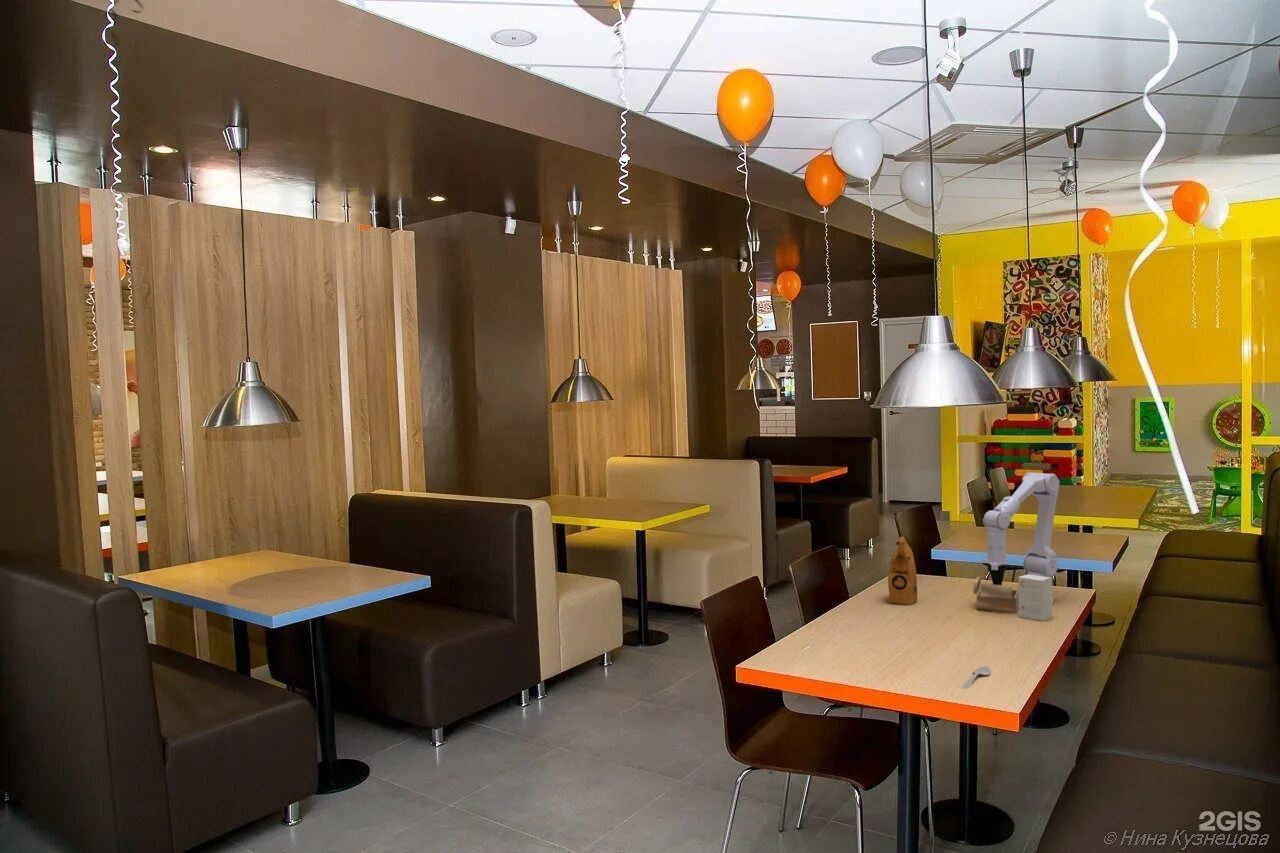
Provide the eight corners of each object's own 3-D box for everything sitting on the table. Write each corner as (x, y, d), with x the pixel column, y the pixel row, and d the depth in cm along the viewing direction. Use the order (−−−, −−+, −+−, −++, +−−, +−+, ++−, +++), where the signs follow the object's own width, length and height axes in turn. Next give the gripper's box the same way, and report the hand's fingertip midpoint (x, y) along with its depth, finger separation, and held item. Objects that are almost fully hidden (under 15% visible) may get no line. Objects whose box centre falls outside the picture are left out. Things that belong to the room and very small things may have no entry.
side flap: (981, 576, 299) (977, 576, 299) (977, 582, 291) (974, 582, 291) (980, 588, 299) (977, 587, 300) (976, 594, 291) (973, 593, 291)
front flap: (981, 583, 289) (980, 583, 288) (1012, 585, 284) (1012, 586, 283) (981, 595, 289) (980, 596, 288) (1012, 598, 284) (1012, 598, 283)
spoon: (994, 673, 227) (994, 667, 227) (967, 695, 211) (967, 689, 211) (978, 670, 230) (978, 664, 230) (950, 692, 214) (950, 685, 214)
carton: (981, 602, 300) (981, 587, 300) (1019, 605, 295) (1019, 590, 294) (976, 610, 290) (976, 595, 289) (1016, 613, 284) (1015, 598, 284)
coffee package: (884, 604, 302) (883, 541, 301) (891, 596, 313) (890, 535, 312) (914, 606, 297) (913, 542, 296) (920, 598, 308) (918, 536, 308)
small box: (1052, 617, 277) (1052, 577, 277) (1043, 621, 273) (1042, 580, 273) (1027, 613, 284) (1027, 573, 283) (1018, 617, 280) (1017, 576, 279)
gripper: (986, 542, 297) (987, 582, 297) (981, 550, 284) (981, 591, 284) (1008, 543, 293) (1009, 583, 294) (1004, 551, 281) (1005, 593, 281)
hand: (997, 587), depth 289 cm, fingers closed
